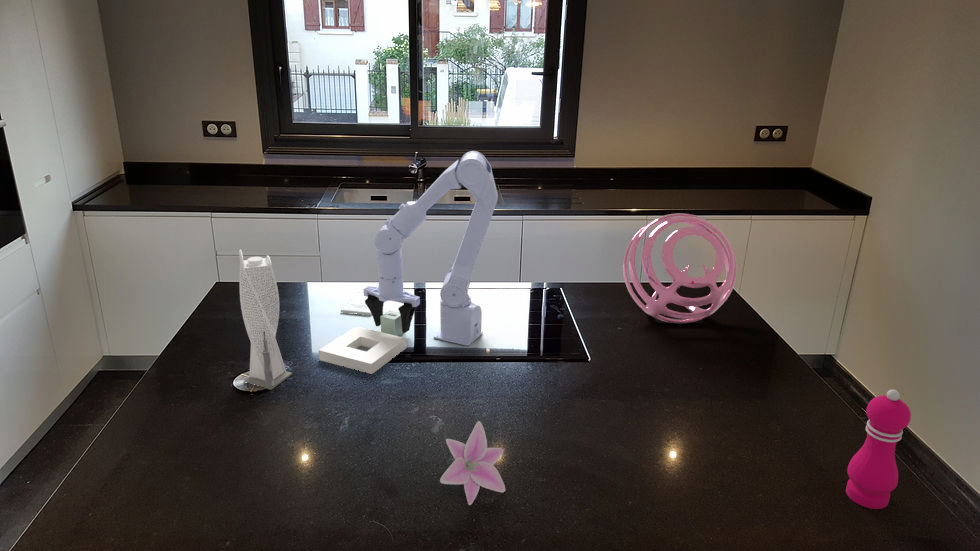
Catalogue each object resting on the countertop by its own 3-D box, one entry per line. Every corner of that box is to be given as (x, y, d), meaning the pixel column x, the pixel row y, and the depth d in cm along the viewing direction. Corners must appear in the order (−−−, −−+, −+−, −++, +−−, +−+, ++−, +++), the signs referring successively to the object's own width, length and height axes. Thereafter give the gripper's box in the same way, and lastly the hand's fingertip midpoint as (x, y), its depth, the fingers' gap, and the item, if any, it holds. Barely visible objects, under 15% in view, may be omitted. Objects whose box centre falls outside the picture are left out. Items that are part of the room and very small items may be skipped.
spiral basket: (627, 219, 193) (652, 184, 167) (723, 248, 192) (765, 218, 166) (601, 313, 187) (624, 293, 160) (701, 343, 186) (741, 328, 159)
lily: (427, 511, 109) (449, 481, 103) (425, 447, 118) (444, 415, 112) (496, 519, 113) (521, 489, 107) (489, 456, 122) (511, 425, 116)
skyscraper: (238, 381, 144) (222, 254, 134) (263, 364, 151) (250, 243, 141) (271, 389, 141) (257, 261, 131) (295, 372, 148) (284, 248, 138)
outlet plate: (406, 347, 160) (406, 338, 159) (371, 374, 148) (371, 363, 147) (356, 335, 165) (356, 326, 164) (319, 360, 153) (318, 350, 152)
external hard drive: (387, 299, 188) (370, 318, 176) (358, 297, 189) (340, 314, 178) (387, 294, 187) (370, 312, 176) (358, 291, 188) (340, 309, 177)
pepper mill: (833, 483, 116) (858, 379, 109) (874, 481, 117) (901, 377, 109) (858, 512, 109) (886, 403, 102) (901, 510, 110) (932, 401, 103)
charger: (404, 332, 168) (403, 312, 166) (395, 338, 164) (394, 319, 162) (390, 329, 169) (389, 309, 167) (381, 335, 166) (380, 315, 164)
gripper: (354, 275, 161) (357, 328, 166) (408, 286, 155) (409, 340, 160) (372, 266, 167) (374, 317, 172) (424, 276, 161) (424, 329, 166)
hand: (392, 327), depth 166 cm, fingers open, 7 cm apart
